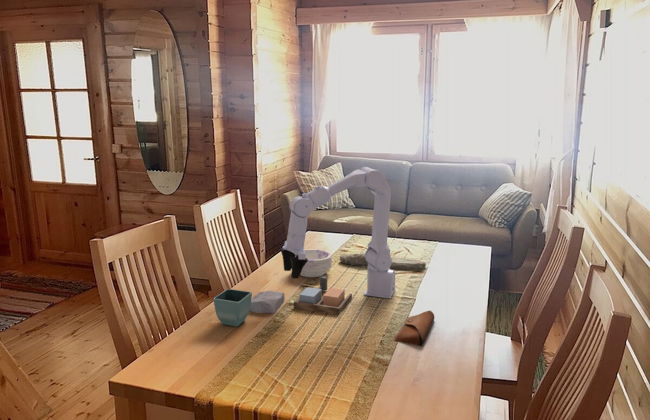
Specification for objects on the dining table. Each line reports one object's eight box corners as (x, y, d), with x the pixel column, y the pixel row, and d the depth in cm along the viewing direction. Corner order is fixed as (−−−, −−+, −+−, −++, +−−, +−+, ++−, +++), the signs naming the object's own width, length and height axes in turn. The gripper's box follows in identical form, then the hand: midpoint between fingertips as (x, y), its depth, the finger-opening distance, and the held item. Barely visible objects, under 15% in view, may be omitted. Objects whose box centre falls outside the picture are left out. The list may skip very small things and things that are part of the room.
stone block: (247, 317, 166) (276, 314, 164) (244, 303, 165) (273, 299, 163) (259, 304, 177) (287, 301, 175) (256, 291, 177) (284, 287, 174)
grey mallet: (331, 291, 183) (331, 277, 181) (314, 309, 167) (313, 294, 166) (318, 289, 184) (318, 275, 183) (299, 307, 169) (299, 292, 168)
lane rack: (352, 298, 176) (352, 292, 175) (338, 314, 163) (338, 308, 162) (309, 293, 181) (309, 287, 180) (293, 308, 168) (293, 301, 168)
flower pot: (253, 318, 160) (252, 291, 158) (240, 330, 152) (238, 302, 150) (228, 315, 163) (227, 288, 161) (214, 326, 155) (212, 298, 153)
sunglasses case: (406, 316, 161) (418, 300, 159) (425, 329, 160) (437, 314, 158) (393, 341, 145) (405, 324, 143) (413, 356, 144) (427, 340, 141)
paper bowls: (338, 270, 204) (338, 251, 202) (320, 283, 190) (319, 262, 189) (304, 265, 211) (304, 246, 209) (284, 276, 197) (284, 256, 196)
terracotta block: (344, 302, 173) (344, 289, 172) (337, 310, 167) (337, 297, 166) (330, 300, 175) (330, 287, 174) (323, 308, 168) (323, 295, 167)
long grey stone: (424, 276, 201) (425, 269, 211) (425, 263, 200) (427, 257, 210) (336, 264, 210) (342, 258, 219) (337, 252, 209) (342, 246, 218)
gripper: (277, 227, 171) (272, 267, 174) (292, 239, 158) (287, 281, 161) (297, 228, 174) (292, 267, 177) (313, 240, 161) (307, 281, 164)
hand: (291, 274), depth 169 cm, fingers open, 7 cm apart
